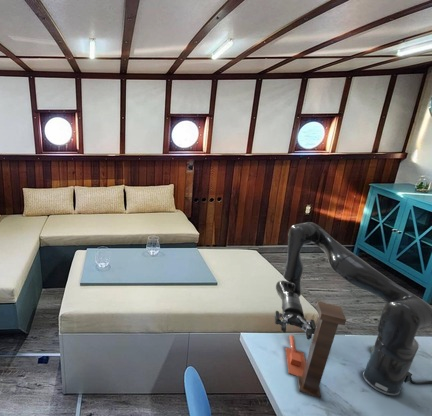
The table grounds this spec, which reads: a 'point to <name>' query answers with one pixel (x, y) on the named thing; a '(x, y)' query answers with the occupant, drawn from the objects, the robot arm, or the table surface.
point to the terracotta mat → (293, 368)
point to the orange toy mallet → (294, 353)
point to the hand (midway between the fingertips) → (296, 334)
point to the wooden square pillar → (320, 348)
